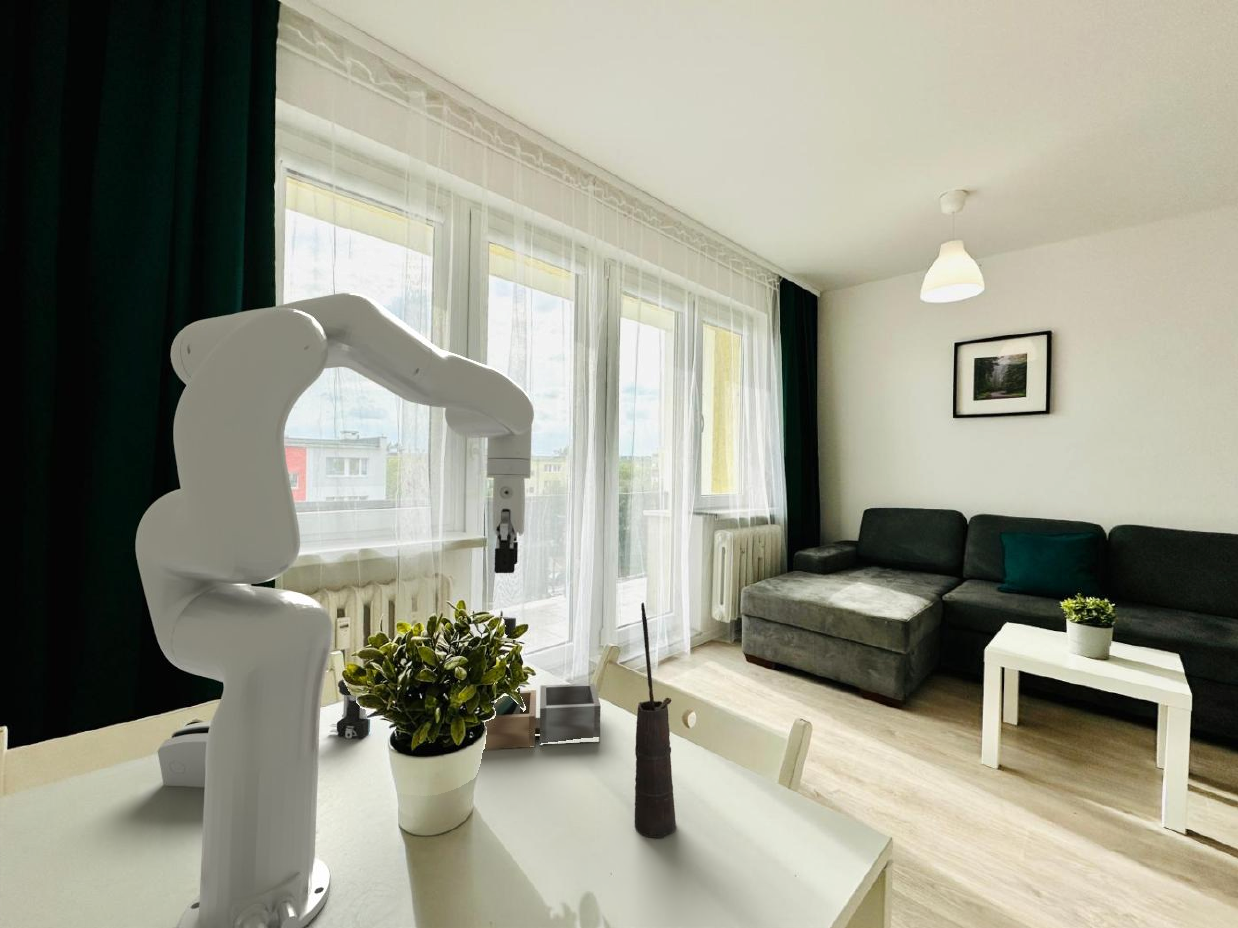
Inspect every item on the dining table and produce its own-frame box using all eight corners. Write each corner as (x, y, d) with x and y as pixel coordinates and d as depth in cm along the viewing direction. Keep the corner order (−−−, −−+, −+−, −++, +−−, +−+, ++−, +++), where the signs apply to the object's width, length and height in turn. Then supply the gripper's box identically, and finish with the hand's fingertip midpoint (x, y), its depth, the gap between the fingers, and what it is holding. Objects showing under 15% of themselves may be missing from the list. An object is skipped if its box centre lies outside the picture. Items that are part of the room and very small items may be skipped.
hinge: (300, 770, 78) (287, 715, 75) (279, 799, 74) (264, 742, 71) (192, 765, 79) (175, 711, 76) (164, 794, 75) (145, 737, 72)
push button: (321, 741, 87) (323, 679, 88) (340, 726, 92) (342, 668, 93) (359, 743, 87) (361, 681, 87) (377, 728, 92) (379, 670, 92)
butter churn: (678, 794, 74) (680, 592, 75) (710, 838, 65) (712, 607, 66) (615, 805, 71) (618, 595, 72) (639, 853, 62) (643, 611, 63)
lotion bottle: (478, 738, 89) (481, 618, 90) (496, 724, 94) (499, 611, 95) (508, 744, 87) (511, 621, 88) (525, 729, 92) (527, 613, 93)
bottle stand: (593, 714, 99) (594, 682, 99) (600, 743, 88) (600, 706, 88) (474, 720, 96) (475, 686, 96) (465, 750, 85) (466, 712, 85)
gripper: (529, 468, 85) (526, 576, 84) (531, 471, 102) (529, 561, 101) (481, 468, 84) (478, 577, 83) (491, 470, 101) (489, 561, 100)
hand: (506, 568), depth 92 cm, fingers open, 9 cm apart
